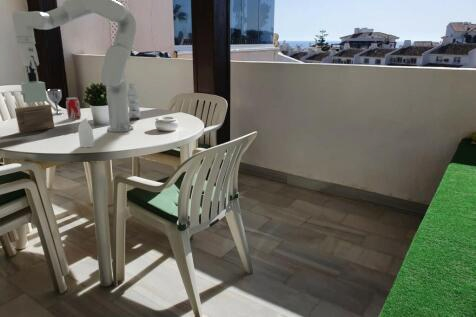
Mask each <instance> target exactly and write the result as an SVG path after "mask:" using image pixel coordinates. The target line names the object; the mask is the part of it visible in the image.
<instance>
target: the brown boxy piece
mask: <svg viewBox="0 0 476 317" xmlns="http://www.w3.org/2000/svg"><path fill="white" fill-rule="evenodd" d="M14 112H15V116H16V117H15V118H16V122H17V127H18V131H19V133H20V134H21V133H28V132H34V131H41V130H48V129H53V128H56V127H55V122H54V115H52V114H53V111H52V104H48V103H47V104H39V105H33V106H24V107H22V106H21V107H14Z"/></svg>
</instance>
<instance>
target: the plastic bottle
mask: <svg viewBox="0 0 476 317" xmlns="http://www.w3.org/2000/svg"><path fill="white" fill-rule="evenodd" d="M136 86H137V85H136V83H128V90H127V101H128V112H129V119H134V120H135V119H138V118H140V117H141V111H140V106H139V90H138V89H137V88H136Z"/></svg>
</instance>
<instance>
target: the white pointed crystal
mask: <svg viewBox="0 0 476 317" xmlns="http://www.w3.org/2000/svg"><path fill="white" fill-rule="evenodd" d="M77 131H78V139H79V140H78V141H79V146H80V148H82V147H83V149H85V148H86V149H87V147H89V148H92V147H94V146H95V138H94V133H93V127H92V126H91V125H90V124H89V121H88V119H87V118H83V120H81V121H80V123H79V124H78V128H77Z"/></svg>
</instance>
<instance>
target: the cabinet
mask: <svg viewBox="0 0 476 317" xmlns="http://www.w3.org/2000/svg"><path fill="white" fill-rule="evenodd" d="M28 73H29V72H26V71H24V76H25V82H20V88H21V93H22V98H23V99H22V100H23V102H24V103H26V104H30V103H42V102H43V103H44V102H48V95H47V90H46V82H44V81H39V76H38V75H39V74H38V71H35V73H36V79H37V81H31V82H30V81H29V77H28Z"/></svg>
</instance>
